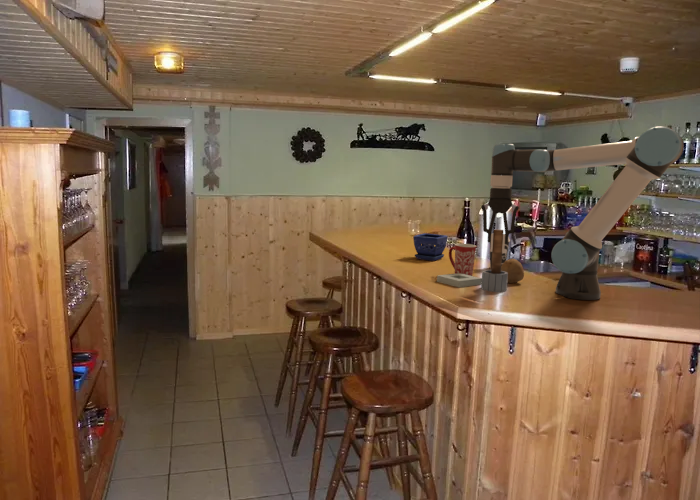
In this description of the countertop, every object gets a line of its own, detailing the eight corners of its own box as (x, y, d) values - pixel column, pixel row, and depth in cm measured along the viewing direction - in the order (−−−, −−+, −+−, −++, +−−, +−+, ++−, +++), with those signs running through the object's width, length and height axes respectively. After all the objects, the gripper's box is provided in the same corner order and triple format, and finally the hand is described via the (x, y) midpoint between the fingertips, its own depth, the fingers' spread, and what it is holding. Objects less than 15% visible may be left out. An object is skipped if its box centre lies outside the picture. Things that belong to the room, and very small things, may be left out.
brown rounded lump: (498, 280, 222) (500, 256, 220) (521, 282, 220) (523, 257, 219) (500, 284, 213) (502, 259, 212) (524, 286, 211) (525, 261, 210)
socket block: (481, 285, 210) (481, 278, 209) (458, 288, 203) (459, 281, 203) (458, 280, 220) (459, 272, 219) (436, 282, 213) (437, 275, 212)
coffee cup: (510, 268, 251) (513, 236, 249) (504, 271, 243) (507, 238, 241) (490, 265, 257) (492, 234, 254) (484, 268, 249) (486, 236, 246)
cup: (511, 291, 201) (512, 273, 200) (494, 294, 196) (496, 275, 195) (492, 287, 208) (493, 269, 207) (476, 289, 203) (477, 270, 202)
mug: (479, 277, 226) (481, 245, 224) (464, 280, 221) (466, 247, 219) (456, 272, 236) (458, 242, 234) (441, 274, 231) (443, 243, 229)
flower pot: (436, 262, 263) (437, 237, 261) (411, 259, 270) (412, 235, 268) (447, 258, 274) (448, 235, 272) (423, 256, 281) (424, 233, 279)
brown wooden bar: (502, 273, 200) (505, 230, 198) (496, 274, 199) (499, 230, 196) (495, 271, 203) (498, 229, 201) (489, 272, 201) (491, 229, 199)
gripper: (524, 188, 198) (520, 251, 201) (478, 186, 202) (474, 249, 206) (525, 188, 191) (520, 254, 194) (477, 187, 195) (473, 251, 198)
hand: (497, 251), depth 200 cm, fingers closed on brown wooden bar, 3 cm apart
